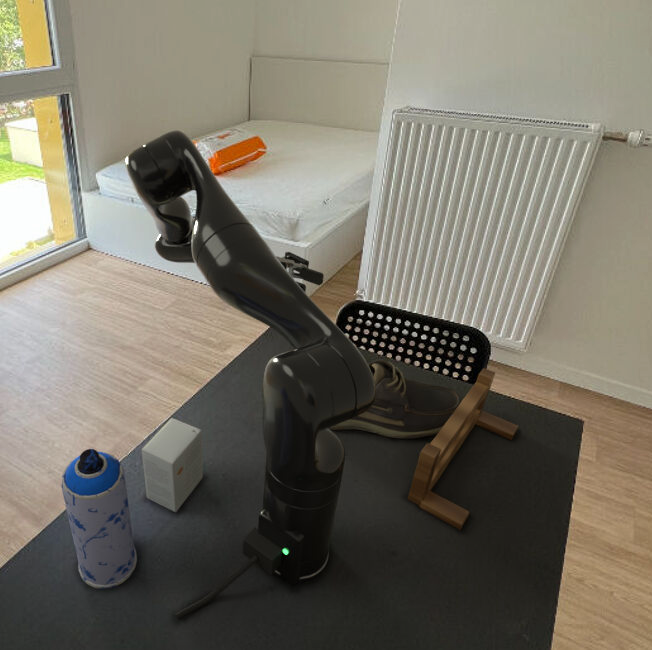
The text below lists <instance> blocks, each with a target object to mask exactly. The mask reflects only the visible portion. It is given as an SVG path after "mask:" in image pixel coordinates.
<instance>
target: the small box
mask: <svg viewBox="0 0 652 650" xmlns="http://www.w3.org/2000/svg"><path fill="white" fill-rule="evenodd" d="M140 451H141V459H142V468H143V477H144V485H145V486H144V487H145V494H146V495H145V496H146V499H148V500H149V501H152V502H153V503H156V504H158V505H160V506H162V507H164V508H166V509H168V510H170V511H171V512H174V513H177V512H178V510H179V509H180V508H181V506H182V505H183V504H184V503H185V502H186V500H187V499H188V497H189V496H190V495H191V494H192V492H193V491H194V490H195V488H196V487H197V485H199V483H200V481H201V480H202V479H203V477H204V475H203V473H204V472H203V471H204V469H203V465H204V464H203V431H202V429H200V428H198V427H195V426H192V425H190V424H188V423H185V422H183V421H181V420H178V419H176V418H173V417H170V419H168V420H167V422H166V423H165V424H164V425H163V426H162V427H161V428H160V429H159V430H158V432H156V434H154V436H153V437H152V438H150V440H149V441H148V442H147V443H146V444H145V445H144V446H143V447H141V450H140Z"/></svg>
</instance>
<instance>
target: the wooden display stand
mask: <svg viewBox="0 0 652 650" xmlns="http://www.w3.org/2000/svg"><path fill="white" fill-rule="evenodd" d="M495 376H496V371H492V370H490V369H488V368H485V367H483V368H482V369H481V370H480V372H479V373H478V376H477V378H476V382H475V383H474V384H473V386H472V387H471V388H470V389H469V391H468V392H467V394H466V395H465V397H464V398H463V399H462V400H461V403H460V405H459V406H458V407H457V409H456V410H455V411H454V413H453V414H452V415H451V417H450V418H449V419H448V421H447V422H446V423H445V425H444V426H443V427H442V429H441V430H440V431H439V433H437V434H435V435H436V436H435V437H434V438H433V440H432V441H431V442H430V443H429V442H426V444H425V446H423V448H422V449H421V450H420V453H419V457H418V460H417V463H416V468H415V471H414V474H413V478H412V481H411V485H410V489H409V493H408V496H407V500H408V501H410V502H412V503H414V504H415V505H418V506H419V508H420V509H421V510H424V511H425V512H427V513H429V514H430V515H432V516H434V517H436V518H438V519H439V520H442V521H443V522H445V523H447V524H449V525H450V526H452V527H453V528H456V529H457V530H459V531H460V530H461V529H462V528H463V526H464V524H465V523H466V521H467V519H468V517H469V514H470V511H469V510H467V509H465V508H463V507H461V506H460V505H457V504H456V503H454V502H452V501H451V500H448V499H446V498H445V497H443V496H440V495H439V494H437V493H435V492H433V491H432V489H433V488H434V486H435V485H436V484H437V482H438V480H439V479H440V477H441V476H442V474H443V473H444V472H445V470H446V468H447V467H448V466H449V464H450V463H451V461H452V459H453V458H454V457H455V455H456V454H457V453H458V451H459V449H460V448H461V446H462V445H463V444H464V442H465V440H466V439H467V437H468V436H469V435H470V433H471V431H472V430H473V428H474V427H475V425H476V426H479V427H481V428H483V429H485V430H487V431H489V432H492V433H494V434H497V435H498V436H501V437H503V438H504V439H505V438H506V439H508V440H510V441H512V440H513V438H514V437H515V434H516V433H517V431H518V429H519V425H518V424H515V423H512V422H510V421H507V420H505V419H504V418H500V417H498V416H496V415H493V414H491V413H489V412H486V411H485V410H484V408H485V404H486V401H487V399H488V396H489V393H490V390H491V387H492V385H493V382H494V379H495Z"/></svg>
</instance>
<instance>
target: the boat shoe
mask: <svg viewBox="0 0 652 650" xmlns="http://www.w3.org/2000/svg"><path fill="white" fill-rule="evenodd" d="M367 364H368V366H369V368H370V370H371V372H372V374H373V378H374V381H375V386H376V396H375V401H374V403H373V405H372V406H371V408H370V409H369V410H367V411H366V412H364V413H362V414H360V415H358V416H356V417H353V418H351V419H349V420H347V421H344V422H342V423H339V424H337V425H334V426H332V427H330V428H328V429H330V430H331V431H338V430H360V431H364V432H369V433H373V434H378V435H379V436H383V437H387V438H393V439H400V440H401V439H403V440H405V439H407V440H409V439H411V440H412V439H420V438H423V437H429V436H434V435H437V434H438V433H439V431H440V430H441V429H442V427H443V426H444V425H445V423H446V422H447V421H448V419H449V418H450V417H451V415H452V414H453V413H454V411H455V410H456V409H457V407H458V406H459V405H460V403H461V402H462V398H461V396H460V394H459V393H458V391H457V390H455V389H453V388H449V387H445V386H440V385H433V384H427V383H422V382H418V381H415V380H412V379H411V380H410V379H407V378H406V377H404V373H403V372H402V371H401V370H400V368H399V367H397V366H395V364H393V363H392V362H390V361H387V360H386V359H375V360H373V361H371V362H369V363H367Z"/></svg>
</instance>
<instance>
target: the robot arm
mask: <svg viewBox="0 0 652 650" xmlns="http://www.w3.org/2000/svg"><path fill="white" fill-rule="evenodd" d="M125 169H126V173H127V176H128V179H129V181H130V183H131V185H132V187H133V189H134V191H135V193H136V195H137V197H138V198H139V200H140V202H141V203H142V204H143V207H145V209H146V211H147V212H148V213H149V215H150V216H151V217H152V218H153V220H154V223H155V225H156V226H155V227H156V229H157V232H158V236H157V238H156V239H155V242H154V249H155V251H156V253H157V255H158V256H159V257H161V258H162V259H163V260H165V261H167V262H171V263H177V264H195V265H196V267H197V268H198V270H199V272H200V273H201V275H202V276H203V278H204V279H205V281H206V283H207V285H208V286H209V287H210V289H211V290H212V292H213V293H214V294H215V295H216V296H217V297H218V298H219V299H220V300H221V301H223V302H224V303H225V304H226V305H228V306H230V307H231V308H233V309H235V310H237V311H238V312H240V313H242V314H244V315H246V316H248V317H250V318H253V319H254V320H256V321H259V322H260V323H262V324H265V325H266V326H268V327H269V328H271V329H273V330H274V331H276V332H277V333H278V334H279V335H281V336H282V337H283V338H284V339H285V340H286V341H287V342H288V343H289V345H291V347H292V348H293V349H291V350H287V351H285V352H281V353H279V354H276V355H274V356H273V357H272V358H269V361H268V362H267V364H265V365H266V366H265V368H264V372H263V378H262V433H263V441H264V446H265V451H266V455H265V470H264V484H263V496H262V497H263V498H262V499H263V501H262V510H261V511H260V512H259V514H258V524H257V527H253V528H252V529H251V530H250V532H249V533H247V535H246V536H244V537H243V539H242V555H244V556H245V557H246V558H247V559H248V561H246V562H245V563H244V564H243V565H242V566H240V567H239V568H238V569H237V570H236V571H235V572H234V573H232V574H231V575H230V576H229V577H228V578H226V579H225V580H224V581H223V582H222V583H221V584H220V585H219V586H217V588H215V589H214V590H213V591H211V592H210V593H208V594H207V595H206V596H204V597H202V598H201V599H199V600H198V601H196V602H194V603H192V604H191V605H189V606H186V607H185V608H183V609H181V610H179V611H177V612H176V613H175V614H174V615H175V618H176V620H180V619H181V618H183V617H185V616H187V615H189V614H191V613H192V612H194V611H196V610H198V609H200V608H201V607H203V606H204V605H207V603H209V602H210V601H212V600H214V599H215V598H216V597H217V596H219V595H220V594H221V593H222V592H224V590H226V588H228V587H229V586H230V585H231V584H232V583H233V582H234V581H236V580H237V579H238V578H240V576H242V575H243V574H244V573H245V572H246V571H248V570H249V569H250V568H251V567H253V565H254V564H255V565H257V566H258V567H259V568H261V570H263V571H264V572H266V573H267V574H269V575H270V576H273V575H275V576H277V577H279V578H280V579H281V580H282V581H283V582H285V583H286V584H288V585H289V586H290V587H292V588H294V587H296V586H297V584H298V583H300V582H306V581H307V582H308V581H311V580H313V579H315V578H317V577H318V576H319V575H321V573H323V572H324V570H325V568H326V567H327V564H328V561H329V556H330V545H331V541H332V535H333V530H334V529H333V528H334V524H335V519H336V518H335V517H336V511H337V506H338V502H339V501H338V499H339V495H340V490H341V484H342V479H343V473H344V467H345V460H346V451H345V446H344V443H343V442H342V440H341V439H340V438H339V435H337V434H336V433H335V432H334V431H333V430H330V429H328V428H330V427H332V426H334V425H337V424H339V423H342V422H344V421H347V420H349V419H351V418H353V417H356V416H358V415H360V414H362V413H364V412H366V411H367V410H369V409H370V408H371V406H372V405H373V403H374V401H375V396H376V386H375V381H374V378H373V374H372V372H371V370H370V368H369V366H368V364H369V363H368V362H367V360H366V359H365V357H364V356H363V354H362V352H360V350H359V349H358V348H357V346H356V344H354V342H352V340H351V339H350V338H349V337H348V336H347V335H346V334H345V333H344V332H343V331H342V330H341V328H339V326H338V325H337V324H336V323H335V322H334V321H333V320H332V319H331V318H330V317H329V316H328V315H327V314H326V313H325V312H324V311H323V310H322V309H321V308H320V306H318V305H317V304H316V303H315V301H313V300H312V299H311V297H310V296H309V295H308V294H307V293H306V291H307V286H306V284H305V283H302V282H300V281H296V280H295V279H299V280H303V281H306V282H308V283H311V284H314V285H317V286H321V285H322V284H323V283H324V277H325V275H324V273H323V272H321V271H318V270H314V269H311V268H310V267H309V265H310V261H309V260H307V259H306V258H303V257H301V256H299V255H297V254H294V253H292V252H290V251H285V252H284V256H281V257H280V256H277V255H276V254H275V253H274V251H273V250H272V248H271V247H270V245H269V244H268V243H267V242H266V240H265V239H264V238H263V237H262V235H261V234H260V233H259V232H258V230H257V229H256V227H255V226H254V225H253V223H252V222H251V221H250V220H249V219H248V218H247V217H246V215H245V214H244V213H243V212H242V211H241V210H240V208H239V207H238V206H237V204H235V202H234V201H233V200H232V198H231V197H230V195H229V194H228V193H227V192H226V190H225V189H224V188H223V186H222V184H221V183H220V182H219V180H218V179H217V177H216V176H215V174H214V172H213V170H212V169H211V167H210V166H209V164H208V163H207V161H206V160H205V158H204V157H203V155H202V153H201V152H200V150H199V149H198V148H197V146H196V144H195V143H194V142H193V141H192V140H191V138H190V137H189V135H187V134H186V133H185V132H183V131H181V130H176V129H175V130H171V131H169V132H165V133H164V134H162V135H159V136H158V137H156V138H154V139H152V140H150V141H149V142H146V143H144V144H143V145H141V146H139V147H138V148H136V149H134V150H132V151H131V152H130V153H129V154H127V156H126V158H125ZM193 191H195V195H196V197H195V198H196V205H195V206H196V208H195V214H194V217H193V216H192V211H191V207H190V205H189V203H188V202H187V200H186V199H185V198H184V197H183V196H185V195H186V194H188V193H191V192H193ZM287 269H288V270H287Z"/></svg>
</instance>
